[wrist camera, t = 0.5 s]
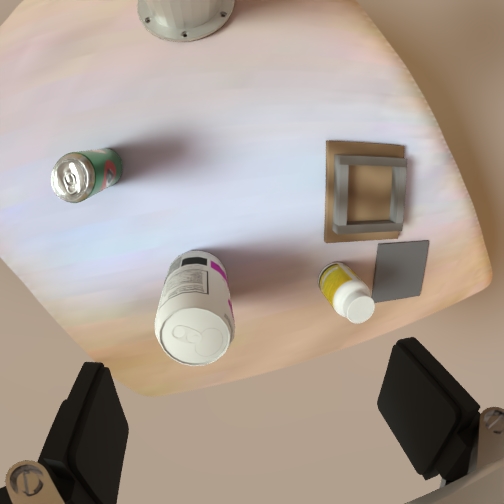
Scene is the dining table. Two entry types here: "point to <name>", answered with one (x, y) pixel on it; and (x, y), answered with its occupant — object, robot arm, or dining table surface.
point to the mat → (399, 270)
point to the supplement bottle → (346, 292)
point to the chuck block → (364, 191)
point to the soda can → (85, 174)
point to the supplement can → (195, 310)
